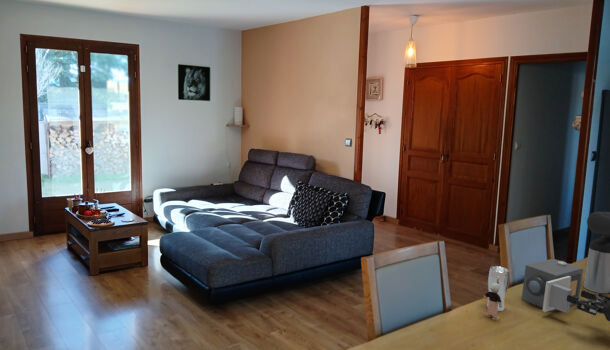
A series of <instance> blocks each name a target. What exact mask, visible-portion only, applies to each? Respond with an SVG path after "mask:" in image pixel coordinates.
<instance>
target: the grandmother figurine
mask: <svg viewBox="0 0 610 350" xmlns="http://www.w3.org/2000/svg"><path fill="white" fill-rule="evenodd" d="M499 287H500V286H499V284H498V283H493V284H491V285H490V287H489V289H491V291H492V292H489V291H487V292H485V293H484V296H483V299H484V300H487V298H488V300H489V304H488V307H487V314H486V315H485V316H486V317H487V318H491V320H493V321H499V320H500V317H499V316H498V311H497V310H498V304H499V307H500V308H501V307H502V303H501V302H502V301H501V298H500V296H499V295H498V294H497V292H498V291H499ZM489 289H488V290H489Z"/></svg>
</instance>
